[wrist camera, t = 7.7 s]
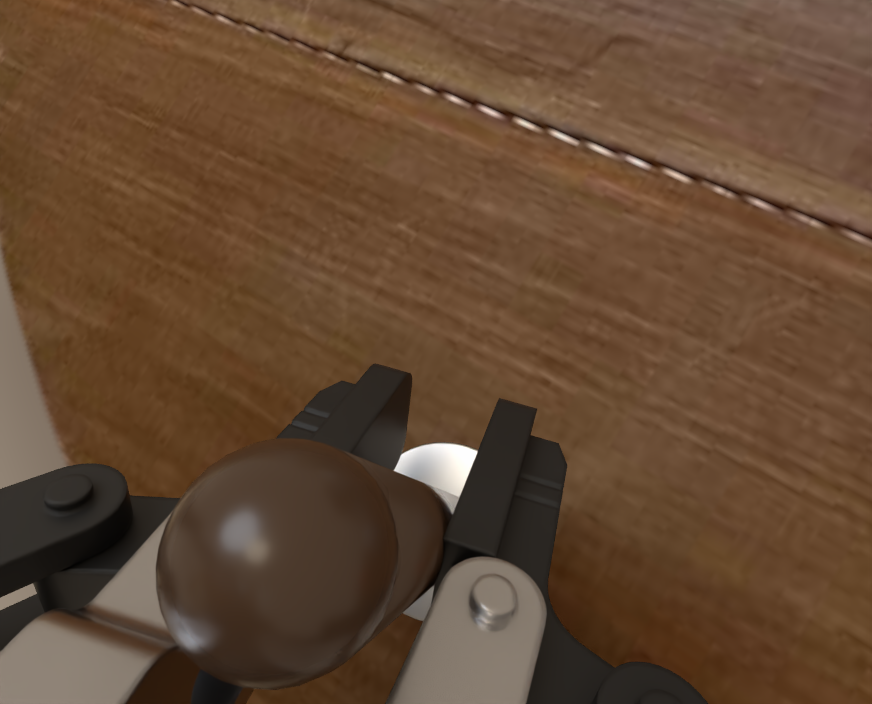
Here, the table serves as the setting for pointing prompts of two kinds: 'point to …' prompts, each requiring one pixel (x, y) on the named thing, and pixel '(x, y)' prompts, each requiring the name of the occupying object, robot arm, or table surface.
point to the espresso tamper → (303, 555)
